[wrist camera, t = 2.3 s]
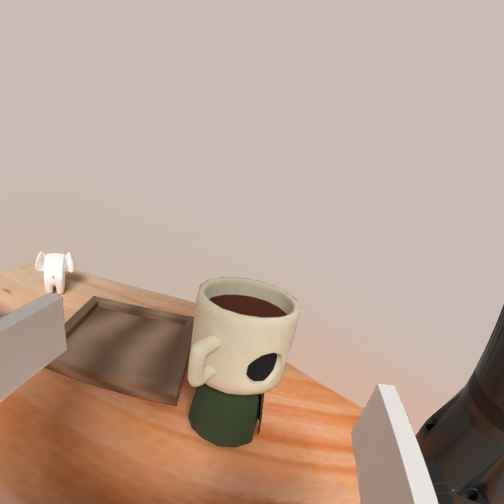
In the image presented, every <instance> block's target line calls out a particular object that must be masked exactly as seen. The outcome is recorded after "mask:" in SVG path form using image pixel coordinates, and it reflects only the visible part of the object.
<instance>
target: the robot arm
mask: <svg viewBox="0 0 504 504" xmlns="http://www.w3.org/2000/svg"><path fill="white" fill-rule="evenodd" d="M66 350H67V345H66V336H65V325H64V311H63V297H61V296H59V295H57V294H54V293H52V292H50V293H48V294H46V295H44V296H42V297H40V298H38V299H36V300H34V301H32V302H30V303H28V304H26V305H24V306H22V307H21V308H19V309H17V310H15V311H13V312H11V313H9V314H7V315H5V316H3V317H1V318H0V403H1V402H2V401H3V400H5V399H6V398H7V397H8V396H9V395H11V394H12V393H13V392H14V391H16V390H17V389H18V388H19V387H21V386H22V385H23V384H24V383H25V382H27V381H28V380H29V379H30V378H32V377H33V376H34V375H35V374H37V373H38V372H39V371H40V370H42V369H43V368H44V367H46V366H47V365H48V364H49V363H51V362H52V361H53V360H54V359H56V358H57V357H58V356H60V355H61V354H62V353H63V352H65V351H66ZM351 436H352V442H353V448H354V455H355V462H356V468H357V476H358V483H359V491H360V499H361V504H504V305H503V308H502V311H501V314H500V316H499V318H498V321H497V323H496V326H495V328H494V331H493V333H492V335H491V338H490V339H489V342H488V344H487V346H486V348H485V350H484V352H483V354H482V356H481V358H480V360H479V362H478V364H477V366H476V368H475V370H474V372H473V374H472V376H471V378H470V379H469V381H468V382H467V384H466V385H465V387H464V388H462V389H461V390H460V391H459V392H458V393H457V394H456V395H455V396H454V397H453V398H452V399H451V400H450V401H448V402H447V403H446V404H445V405H444V406H443V407H442V408H440V409H439V410H438V411H437V412H436V413H434V414H433V415H432V416H431V417H430V418H429V419H428V420H427V421H426V422H425V423H424V425H423V426H422V428H421V429H420V430H419V432H418V433H417V435H416V436H415V434H414V432H413V429H412V426H411V424H410V421H409V419H408V417H407V414H406V411H405V409H404V407H403V404H402V402H401V399H400V397H399V394H398V392H397V390H396V387H395V385H386V384H377V386H376V388H375V390H374V392H373V394H372V395H371V397H370V399H369V401H368V403H367V405H366V407H365V409H364V410H363V412H362V414H361V416H360V418H359V419H358V421H357V423H356V425H355V426H354V428H353V430H352V432H351Z"/></svg>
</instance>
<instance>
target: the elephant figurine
mask: <svg viewBox="0 0 504 504" xmlns="http://www.w3.org/2000/svg"><path fill="white" fill-rule="evenodd" d="M35 267H36V269H37V270H38V271H43V270H44V283H45V289H46V292H47V293H50V292H52V293H53V288H54V287H55V286H56V290H57V293H58V294H63V293H64V287H65V270H67V271H68V272H70V273H71V272H73V271H74V270H75V263H74V259H73V257H72V255H71V253H70V252H68V254H67V255H64V254H60V253H59V254H58V253H49V254H47V255H46V254H45V253H44V252H43V251H41V252H40V253H39V255H38V256H37V259H36V263H35Z"/></svg>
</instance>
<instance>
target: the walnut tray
mask: <svg viewBox="0 0 504 504" xmlns="http://www.w3.org/2000/svg"><path fill="white" fill-rule="evenodd" d="M193 323H194V317H189V316H184V315H179V314H173V313H168V312H163V311H158V310H153V309H149V308H144V307H139V306H135V305H130V304H126V303H121V302H117V301H113V300H108V299H104V298H100V297H96V296H93V297H92V298H91V299H90V300H89V301H88V302H87V303H86V304H85V305H84V306H83V307H82V308H81V309H80V310H79V311H77V312H76V313H75V314H74V315H73V316H72V317H71V318H70V319H69V320H68V321H67V322H66V323H65V324H64V325H65V336H66V345H67V350H66V351H65V352H63V353H62V354H61V355H60V356H58V357H57V358H56V359H54V360H53V361H52V362H51V363H49V364H48V365H47V366H46V367H45V368H47V369H50V370H52V371H55V372H58V373H60V374H63V375H66V376H69V377H71V378H74V379H77V380H80V381H83V382H86V383H89V384H92V385H95V386H99V387H102V388H105V389H109V390H112V391H116V392H119V393H123V394H126V395H130V396H134V397H138V398H142V399H146V400H151V401H155V402H159V403H164V404H169V405H174V406H177V402H178V398H179V394H180V390H181V386H182V382H183V378H184V374H185V370H186V366H187V362H188V358H189V355H190V350H191V341H192V332H193Z"/></svg>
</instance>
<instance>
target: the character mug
mask: <svg viewBox="0 0 504 504" xmlns="http://www.w3.org/2000/svg"><path fill="white" fill-rule="evenodd" d="M300 309H301V306H300V304H299V303H298V301H297V299H296V298H295V297H293V296H292V295H291V294H289V293H288V292H286V291H285V290H283V289H280V288H278V287H276V286H274V285H271V284H267V283H264V282H261V281H258V280H252V279H246V278H236V277H221V278H215V279H209V280H207V281H206V282H204V283H202V284H201V285H200V288H199V291H198V295H197V299H196V307H195V315H194V323H193V332H192V341H191V350H190V355H189V365H188V375H187V378H188V382H189V383H190V385H191V386H192V387H197V389H196V392H195V395H194V398H193V402H192V405H191V409H190V414H189V419H190V422H191V425H192V428H193V429H194V430H195V431H196V432H197V433H198V434H199V435H200V436H201V437H202V438H204V439H206V440H208V441H210V442H211V443H213V444H215V445H217V446H223V447H238V446H241V445H244V444H248V443H250V442H251V441H252V437H253V432H254V428H255V425H256V422H257V419H258V420H259V427H258V433H259V431H260V425H261V419H262V409H263V399H264V393H265V392H268V391H271V390H272V389H274V388H275V387H276V385H277V384H278V382H279V381H280V379H281V377H282V374H283V372H284V369H285V363H286V359H287V355H288V352H289V349H290V347H291V344H292V341H293V337H294V334H295V330H296V326H297V322H298V318H299V314H300ZM258 433H257V434H258Z"/></svg>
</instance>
